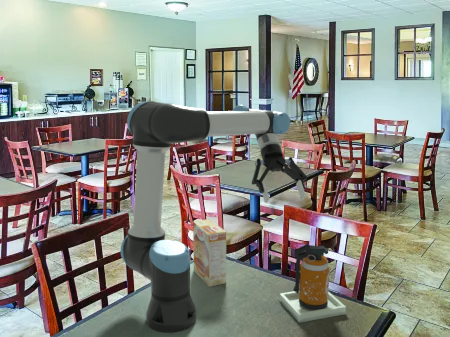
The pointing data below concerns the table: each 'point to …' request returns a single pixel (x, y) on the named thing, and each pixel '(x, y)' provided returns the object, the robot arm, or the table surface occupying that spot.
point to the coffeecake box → (209, 252)
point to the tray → (304, 314)
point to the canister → (312, 277)
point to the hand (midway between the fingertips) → (285, 199)
